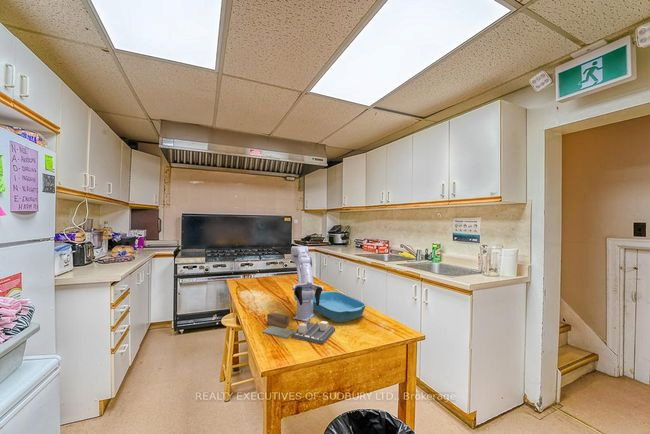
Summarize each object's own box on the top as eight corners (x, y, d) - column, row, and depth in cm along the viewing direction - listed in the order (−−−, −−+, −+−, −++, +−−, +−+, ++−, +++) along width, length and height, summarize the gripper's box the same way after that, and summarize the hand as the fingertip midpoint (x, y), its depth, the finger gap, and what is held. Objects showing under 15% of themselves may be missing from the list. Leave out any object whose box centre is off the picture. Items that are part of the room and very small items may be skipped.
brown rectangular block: (271, 321, 131) (271, 312, 131) (288, 325, 127) (288, 315, 127) (267, 324, 128) (267, 314, 128) (284, 328, 124) (284, 317, 124)
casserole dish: (301, 305, 155) (301, 293, 155) (333, 299, 167) (333, 288, 167) (338, 329, 124) (338, 314, 124) (373, 319, 136) (373, 305, 136)
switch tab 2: (322, 328, 121) (322, 320, 121) (328, 329, 120) (328, 321, 120) (319, 330, 119) (319, 322, 119) (325, 331, 118) (326, 324, 118)
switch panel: (306, 325, 128) (306, 319, 128) (335, 330, 122) (335, 325, 122) (291, 337, 115) (291, 331, 115) (322, 344, 109) (322, 338, 109)
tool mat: (270, 327, 125) (270, 325, 125) (294, 332, 120) (294, 331, 120) (262, 332, 119) (262, 331, 119) (287, 338, 114) (287, 337, 114)
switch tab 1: (301, 330, 119) (301, 322, 119) (307, 331, 117) (307, 323, 117) (298, 332, 116) (298, 324, 116) (304, 333, 115) (304, 326, 115)
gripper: (293, 272, 122) (295, 298, 112) (323, 274, 126) (327, 300, 116) (290, 281, 126) (292, 307, 116) (319, 282, 131) (323, 308, 121)
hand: (309, 304), depth 117 cm, fingers open, 7 cm apart
